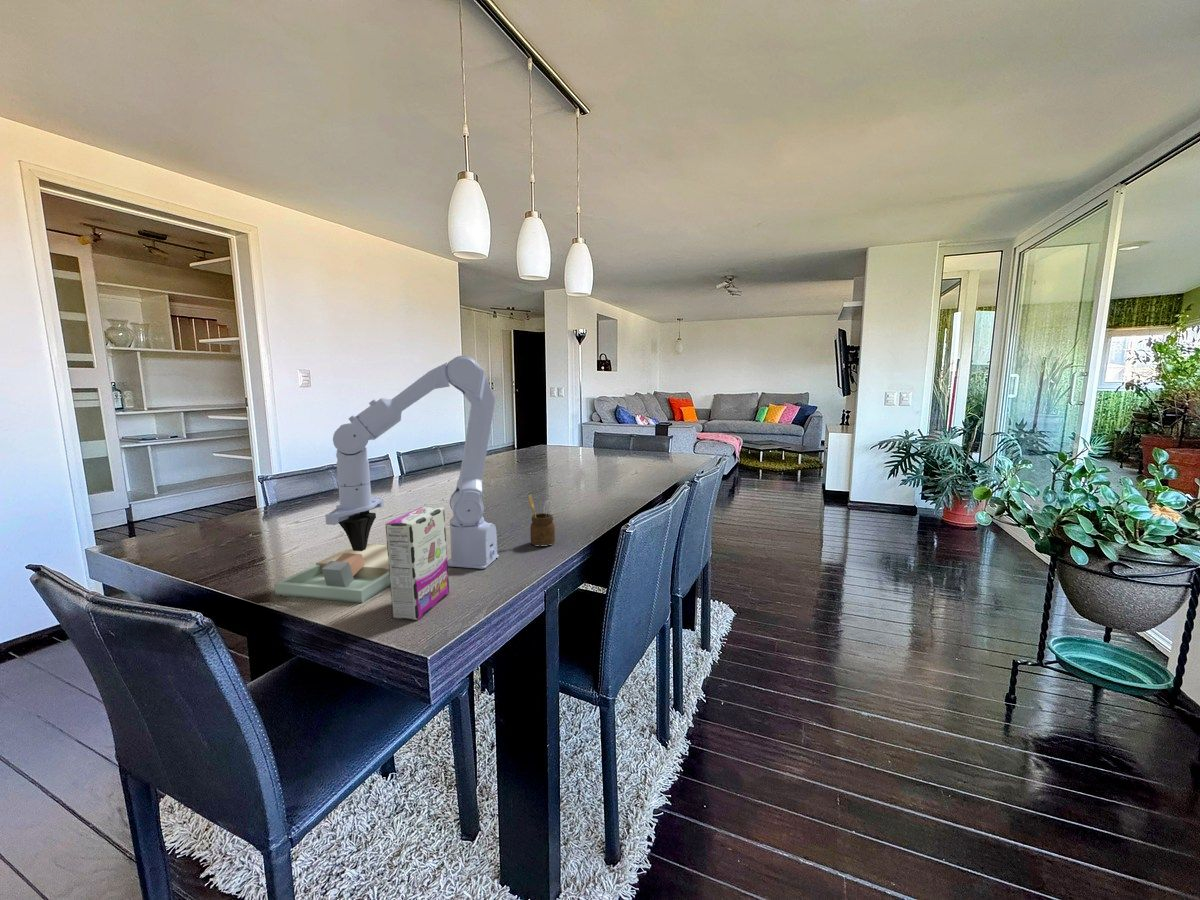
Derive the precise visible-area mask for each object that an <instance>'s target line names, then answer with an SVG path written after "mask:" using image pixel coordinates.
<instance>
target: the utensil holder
mask: <svg viewBox="0 0 1200 900" xmlns="http://www.w3.org/2000/svg"><path fill="white" fill-rule="evenodd" d="M527 498H528V501H529V505H530V508H531V509H532V513H533V515H532V516H531V523H530V528H529V531H530V532H529V533H530V534H529V535H530V536H529V537H530V544H531V545H532V544H533V545H539V546H541V545H549V544H553V543H554V542H555V543H556V528H555V527H556V526H555V523H554V516H553V512H554V507H555V506H554V505H555V504H554V502H553V500H551V499H548V500H546V502H544V506H543V509H545V510H548V506H546V505H547V504H549V502H550V506H549V507H552V509H551V510H549V513H548V512H543V513H542V512H540V513H536V511H535V504H534V500H533V497H532V494H529V495H527ZM552 503H553V505H552ZM545 507H546V508H545ZM555 543H554V544H555ZM554 544H553V545H554ZM533 545H532V546H533Z"/></svg>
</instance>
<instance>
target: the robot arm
mask: <svg viewBox="0 0 1200 900" xmlns="http://www.w3.org/2000/svg"><path fill="white" fill-rule="evenodd" d="M450 386H453V387H454V388H455V389H457V390H459V391H460V392H461V393H462V395H463V396H464V397H465V398H466V400H467V401H468V402H469V403H470V410H469V416H468V422H467V429H466V435H465V440H464V441H465V442H464V448H463V453H462V460H461V465H460V471H459V476H458V480H457V482H456V487H455V489H454V491H453V493H452V494H451V495H450V498H449V506H450V509H451V510H452V515H453V516H452V517H451V518H450V520H449V536H450V558H449V559H447V564H448V567H451V568H453V567H454V568H466V569H481V570H482V569H484V570H485V569H486V568H488V566H490V565H491V564H492V563H493V562H494V561H495V560H497V559H498V558H499V557H500V555H499V554H498V534H497V533H498V531H497V527H496V524H495V523H491V522H487V521H485V518H484V516H483V515H484V512H485V506H484V505H485V504H484V503H483V499H482V498H483V497H482V496H483V476H484V471H485V470H484V469H485V465H486V460H487V459H486V458H487V452H488V447H489V440H490V434H491V430H492V429H491V427H492V421H493V416H494V415H493V414H494V409H495V403H496V397H495V394H494V392H493V390H492V388H491V385H490V383H489V381H488V378H487V376H486V372H485V370H484V368H483V367H482V366H481V365H480V364H479V363H478V362H477V361H476V360H475V359H474V358H472V357H471V356H468V355H459V356H458V355H457V356H455V357H454V358H453V359H450V360H449V361H448V362H445V363H443V364H441V365H439V366H436V367H435V368H433V369H430V370H429V371H427V372H426V373H425V374H423V375H422V376H421V377H419V378H418V379H417V380H415V381H414V382H413V383H411V385H409V386H408V387H406V388H404V389H403V390H402V391H401V392H399V394H397V395H395V396H394V397H393V398H392V399H391V398H385V397H384V398H383V397H382V398H379V399H378V400H376V399H373V400H371V401H370V402H368V404H369V406H368V407H367V408H365V409H364V410H362V411H361V412H359V413H358V414H357V415H351V416H349V418H348V421H350V422H349V423H344V424H341V425H340V426H339V427H338V428H337V429H336V430H335V431H334V433H333V437H332V442H333V446H334V448H335V449H336V453H335V454H336V459H337V461H336V471H337V472H336V475H337V484H338V485H337V486H338V498H339V504H338V505H336V506H335V509H334V510H332V511H330V512H327V513H326V514H324V516H325V525H329V526H330V525H333V526H336V525H338V524H339V525H340V527H341V528H342V529H343V532H345V534H346V536H347V539H348V541H349V544H350V546H351V547H352V549H353V551H363V550H365V549H366V547H367V544H368V541H369V536H370V532H371V528H372V527H373V523H374V521H375V520H376V519H377V515H376V514H377V513H376V512H370V511H372V510H374V509H377V508H383V507H384V506H385V505H384V497H377V496H376V497H372V487H371V475H370V473H371V472H370V461H369V459H368V451H367V447H366V446H367V445H368V442H369V441H372V440H373V441H374V440H376V439H378V438H379V437H381V436H382V435H383V434H386V432H388V431H389V430H390V429H391V428H393V427H394V426H396V425H397V424H398V423H400V422H401V420H402V413H403V411H405V410H406V409H407V408H409V407H410V406H412V405H413V404H414V403H417V402H418V401H419V400H421V399H422V398H423V397H425V396H426V395H428V394H429V393H431V392H432V391H434V390H436V389H442V388H443V389H444V388H450ZM496 558H497V559H496Z"/></svg>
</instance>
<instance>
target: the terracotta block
mask: <svg viewBox="0 0 1200 900" xmlns="http://www.w3.org/2000/svg"><path fill="white" fill-rule="evenodd" d="M336 561H338V562H349V564H350V567H351V571H352V574H353V576H354V575H355V574H356V573H357V572H358V571H359V570H360V569H361V568H362V567H363V566H364V565H365V563H364V560H363V556H362V554H351V553H344V554H342V555H341V556H340V557H339V558H338V559H337V560H336Z"/></svg>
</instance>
